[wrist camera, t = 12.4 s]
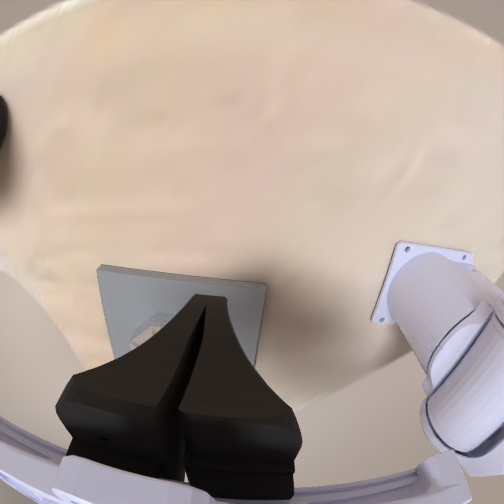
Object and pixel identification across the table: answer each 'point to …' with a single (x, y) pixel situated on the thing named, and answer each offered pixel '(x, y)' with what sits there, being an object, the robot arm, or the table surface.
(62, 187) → the table surface
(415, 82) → the table surface
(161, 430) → the robot arm
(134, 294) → the base plate
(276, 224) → the table surface
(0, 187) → the table surface
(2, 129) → the camera lens
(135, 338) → the ring socket
